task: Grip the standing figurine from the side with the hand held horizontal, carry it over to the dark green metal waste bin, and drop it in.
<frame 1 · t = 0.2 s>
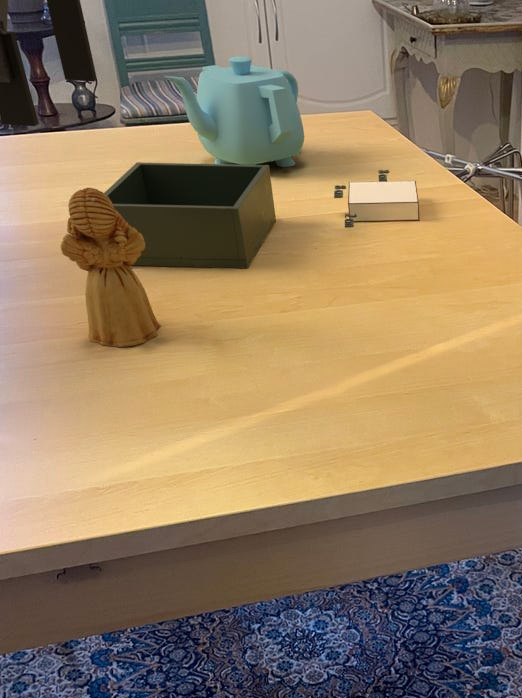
hand: (52, 101, 82), 23 cm above the table, tool pointing down, fingers open, 13 cm apart
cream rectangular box: (377, 211, 132), on the table
teapot: (246, 166, 147), on the table
bin: (195, 241, 122), on the table
figurine: (127, 334, 101), on the table
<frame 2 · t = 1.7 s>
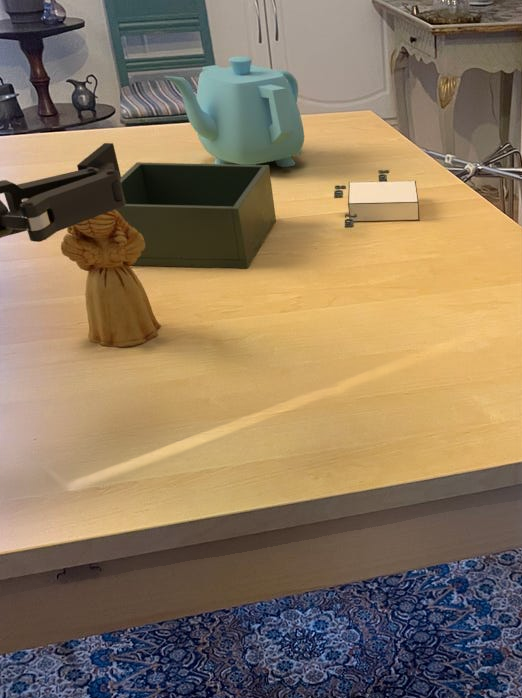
hand: (34, 158, 80), 20 cm above the table, tool horizontal, fingers open, 13 cm apart
nothing on the table moved.
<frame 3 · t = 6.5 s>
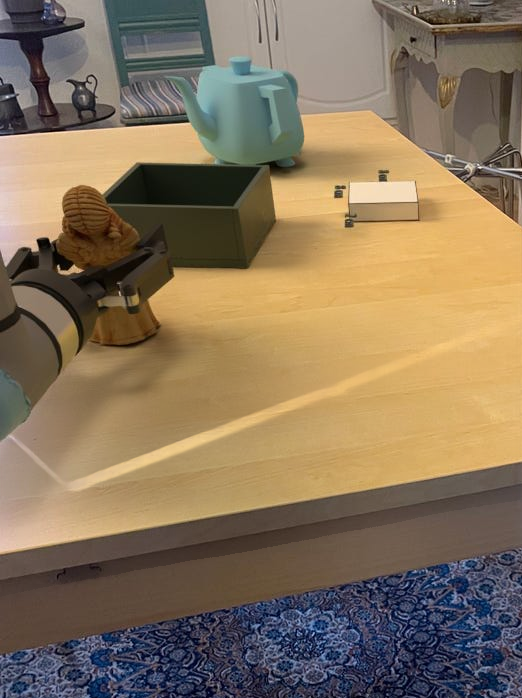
hand: (122, 235, 99), 9 cm above the table, tool horizontal, fingers closed on figurine, 8 cm apart
figurine: (126, 333, 101), on the table, touching gripper
everything else where it was.
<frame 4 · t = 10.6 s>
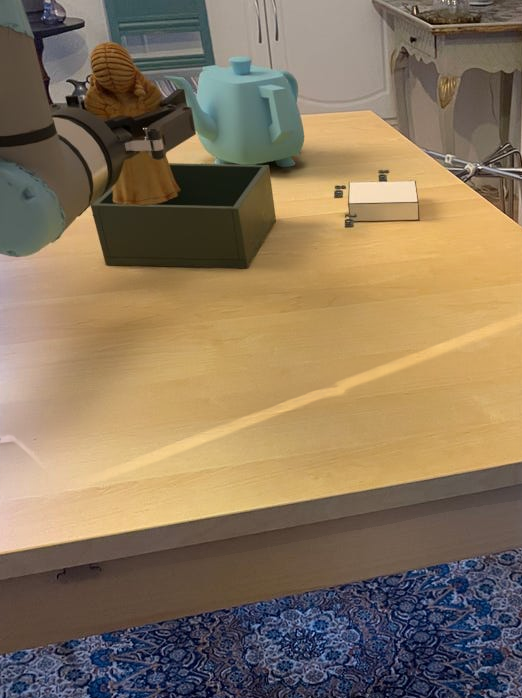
hand: (145, 102, 103), 18 cm above the table, tool horizontal, fingers closed on figurine, 8 cm apart
figurine: (149, 198, 106), point 9 cm above the table, touching gripper
everything else where it was.
when the fingers open (12 cm above the table, at t = 14.7 s): figurine drops 3 cm, resting on bin.
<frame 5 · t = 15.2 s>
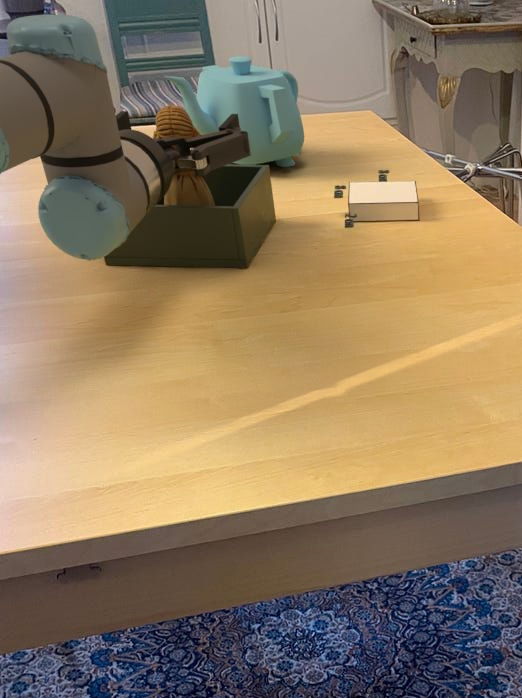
hand: (181, 124, 115), 13 cm above the table, tool horizontal, fingers open, 13 cm apart
figurine: (196, 235, 121), point 1 cm above the table, touching bin
everything else where it was.
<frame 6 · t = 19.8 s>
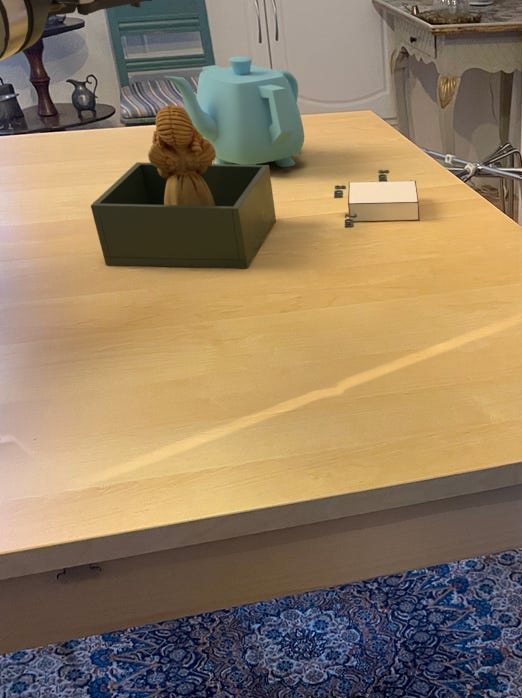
nothing on the table moved.
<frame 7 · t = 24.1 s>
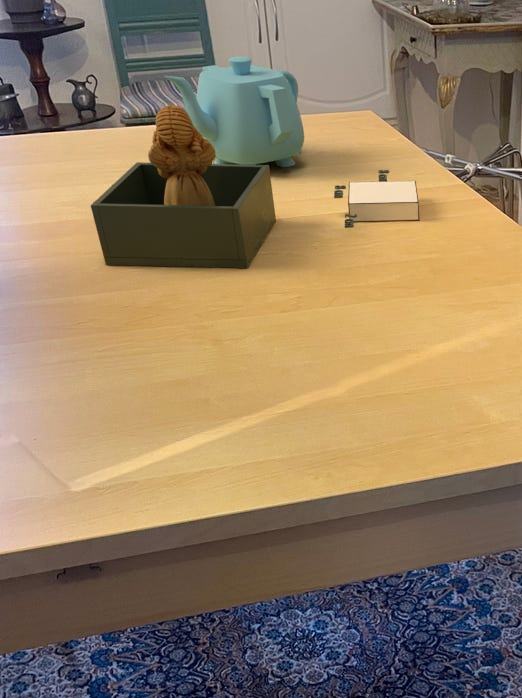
nothing on the table moved.
at the end: figurine inside the target area in the bin (0.3 cm from its centre), point 0.8 cm above the bin's base; the gripper is holding nothing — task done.
